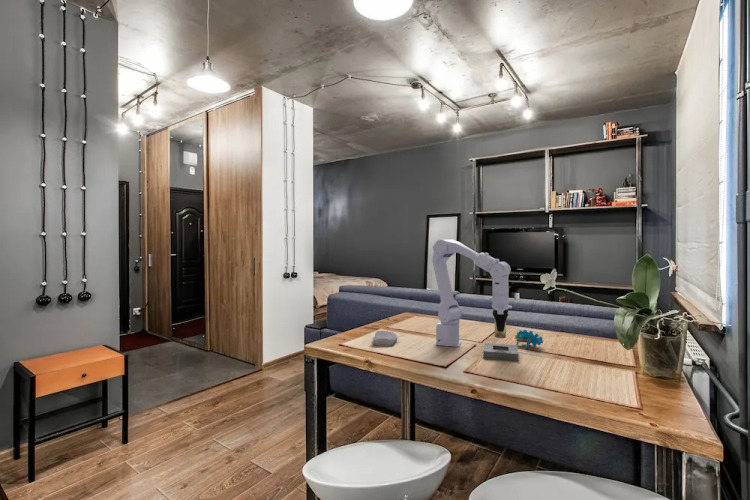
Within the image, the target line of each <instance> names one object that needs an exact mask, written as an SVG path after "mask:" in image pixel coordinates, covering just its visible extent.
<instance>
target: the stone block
mask: <svg viewBox="0 0 750 500" xmlns="http://www.w3.org/2000/svg"><path fill="white" fill-rule="evenodd" d="M397 341H398V335H397V334H396V333H395V332H391V331H388V330H377V331H376V332H375V335H374V336H373V338H372V343H373V346H375V347H391V346H392V345H394V344H395V343H396V342H397Z"/></svg>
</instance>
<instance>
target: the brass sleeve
mask: <svg viewBox="0 0 750 500" xmlns="http://www.w3.org/2000/svg"><path fill="white" fill-rule="evenodd" d="M494 338H497V339H506V338H507V321H506V322H505V327H504V331H503V332H500V331H497V326H496V321H495V320H494Z"/></svg>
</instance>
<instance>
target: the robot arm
mask: <svg viewBox="0 0 750 500" xmlns="http://www.w3.org/2000/svg"><path fill="white" fill-rule="evenodd" d="M432 249H433V255H432V259H431V260H432V264H433V265H432V266H433V270H434V275H435V279H436V284H437V288H438V292H439V298H440V301H439V304H438V306H437V309H438V313H437V315H438V316H437V318H438V319H439V322H437V323H436V327H435V328H436V329H435V335H436V336H435V338H436V339H435V341H436V342H435V346H445V347H457V348H459V347H460V346H461V343H462V340H460V320H461V319H462V317H463V310H462V309H461V307H460V306H459V302H458V301H457V300H456V299H455V298H454V293H453V289H452V284H451V279H450V276H449V271H448V266H447V262H448V260H449V259H450V258H451V257H452V256H454V254H460V255H462V256H463V257H466V258H467V259H470V260H472V261H474V264H475V266H477V267H478V268H480V269H482V270H483V271H486V272H487V273H489V275H490V276H491V277H492V278H491V279H492V284H491V286H492V290H491V291H492V293H491V294H492V305H491V308H492V316H493V319H494V322H495V321H496V326H497V331H500V332H503V331H504V327H505V322H506V323H507V318H508V317H509V309H512V308H513V307H512V305H509V276H510V274H511V271H512V268H511V266H510V264H509V263H507V262H506V261H500V259H499V258H495V257H492V256H491V255H489V253H488V252H480V253H479V252H476V250H473V249H471V248H470V247H468V246H466V245H465V244H464V243H462V242H460V241H457V240H455V239H452V238H451V239H442V238H440V239H437V240H436V241H435V242H434V244H433V246H432Z"/></svg>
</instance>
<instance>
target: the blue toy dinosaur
mask: <svg viewBox="0 0 750 500" xmlns="http://www.w3.org/2000/svg"><path fill="white" fill-rule="evenodd" d="M533 333H534V331H532V330H527V329H523V330H521V329H519V330H518V332H516V334H515V335H514V339H516V343H515V345H517V347H518V346H519V343H526V345H525V349H526V350H528V349H529V347H530V345H531V344H532V346H541V344H544V340H543V339H544V338H543V337H542V336H539V333H536V332H535V334H533Z"/></svg>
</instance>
